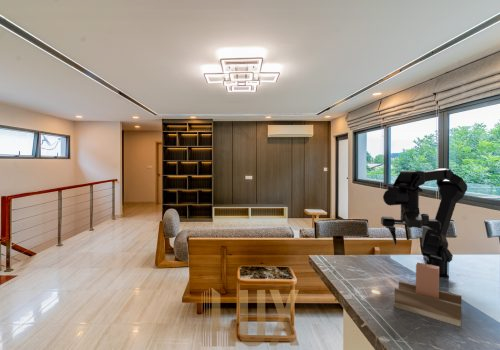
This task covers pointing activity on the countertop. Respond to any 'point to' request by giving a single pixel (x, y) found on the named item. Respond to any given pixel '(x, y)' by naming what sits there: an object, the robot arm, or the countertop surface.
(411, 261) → the countertop surface
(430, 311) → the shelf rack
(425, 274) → the salmon orange rectangular block
